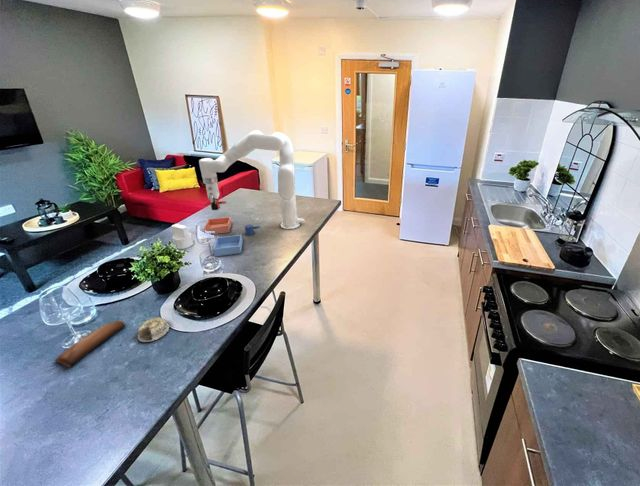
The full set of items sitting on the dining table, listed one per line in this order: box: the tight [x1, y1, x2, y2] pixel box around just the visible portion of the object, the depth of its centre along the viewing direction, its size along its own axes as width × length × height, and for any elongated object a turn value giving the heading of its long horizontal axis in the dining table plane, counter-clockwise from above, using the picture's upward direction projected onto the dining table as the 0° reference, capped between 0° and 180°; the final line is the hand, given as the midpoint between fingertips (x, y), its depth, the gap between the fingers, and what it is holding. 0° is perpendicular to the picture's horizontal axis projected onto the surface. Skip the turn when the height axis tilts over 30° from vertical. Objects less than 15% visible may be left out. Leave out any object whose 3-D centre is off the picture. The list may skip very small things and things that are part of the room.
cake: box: [136, 317, 171, 343], centre depth 108 cm, size 10×10×5 cm
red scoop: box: [209, 199, 227, 210], centre depth 175 cm, size 9×5×5 cm, turn 108°
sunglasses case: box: [55, 320, 126, 368], centre depth 103 cm, size 18×7×7 cm
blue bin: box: [212, 234, 244, 257], centre depth 162 cm, size 13×13×4 cm
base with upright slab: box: [171, 223, 194, 250], centre depth 163 cm, size 9×9×12 cm
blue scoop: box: [244, 224, 261, 236], centre depth 179 cm, size 9×5×5 cm, turn 107°
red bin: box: [203, 216, 232, 235], centre depth 183 cm, size 13×13×4 cm
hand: (215, 207), depth 175 cm, fingers closed on red scoop, 4 cm apart
